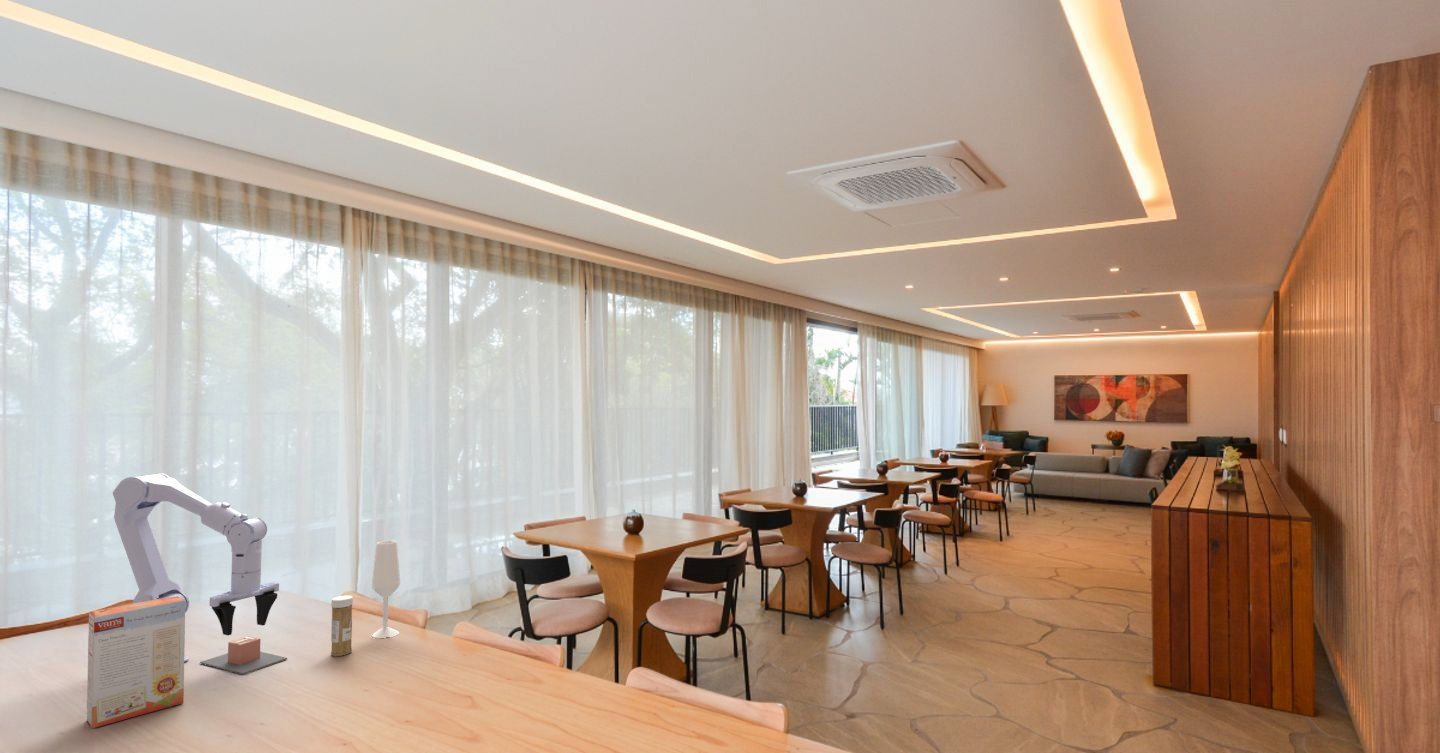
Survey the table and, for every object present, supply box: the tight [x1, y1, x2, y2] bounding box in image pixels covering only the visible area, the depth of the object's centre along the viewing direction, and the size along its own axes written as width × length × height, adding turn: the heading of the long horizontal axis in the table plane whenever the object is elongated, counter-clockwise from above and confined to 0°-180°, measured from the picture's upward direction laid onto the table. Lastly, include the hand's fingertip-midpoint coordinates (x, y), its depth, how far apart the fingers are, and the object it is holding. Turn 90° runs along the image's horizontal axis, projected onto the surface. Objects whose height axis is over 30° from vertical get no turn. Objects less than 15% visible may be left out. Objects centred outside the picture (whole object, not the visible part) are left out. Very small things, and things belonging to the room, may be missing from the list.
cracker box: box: [86, 596, 186, 729], centre depth 134 cm, size 14×6×21 cm, turn 141°
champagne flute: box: [371, 539, 401, 639], centre depth 179 cm, size 7×7×24 cm
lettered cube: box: [227, 635, 261, 665], centre depth 160 cm, size 4×4×5 cm
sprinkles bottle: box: [330, 595, 354, 657], centre depth 165 cm, size 5×5×14 cm
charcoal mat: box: [199, 651, 288, 676], centre depth 160 cm, size 16×10×1 cm, turn 66°
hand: (244, 629), depth 160 cm, fingers open, 7 cm apart
